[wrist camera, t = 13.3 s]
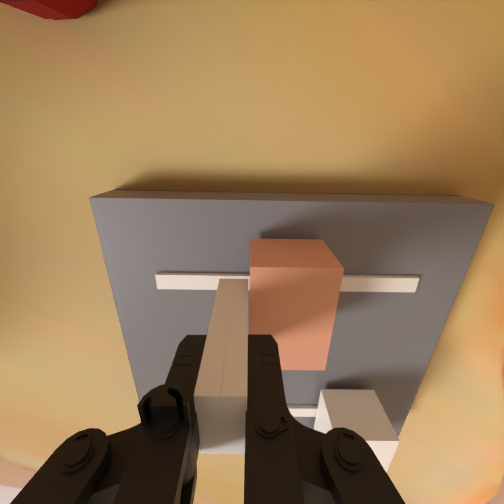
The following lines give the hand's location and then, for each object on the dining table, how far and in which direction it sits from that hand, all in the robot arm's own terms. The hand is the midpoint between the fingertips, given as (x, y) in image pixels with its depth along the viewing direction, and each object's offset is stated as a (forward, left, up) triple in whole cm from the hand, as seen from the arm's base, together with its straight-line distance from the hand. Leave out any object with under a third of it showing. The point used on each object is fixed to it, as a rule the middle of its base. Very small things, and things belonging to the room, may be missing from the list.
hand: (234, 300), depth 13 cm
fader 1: (+3, 0, -2) cm, 3 cm away
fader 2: (+8, -12, -2) cm, 15 cm away
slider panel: (+3, -6, -5) cm, 8 cm away
